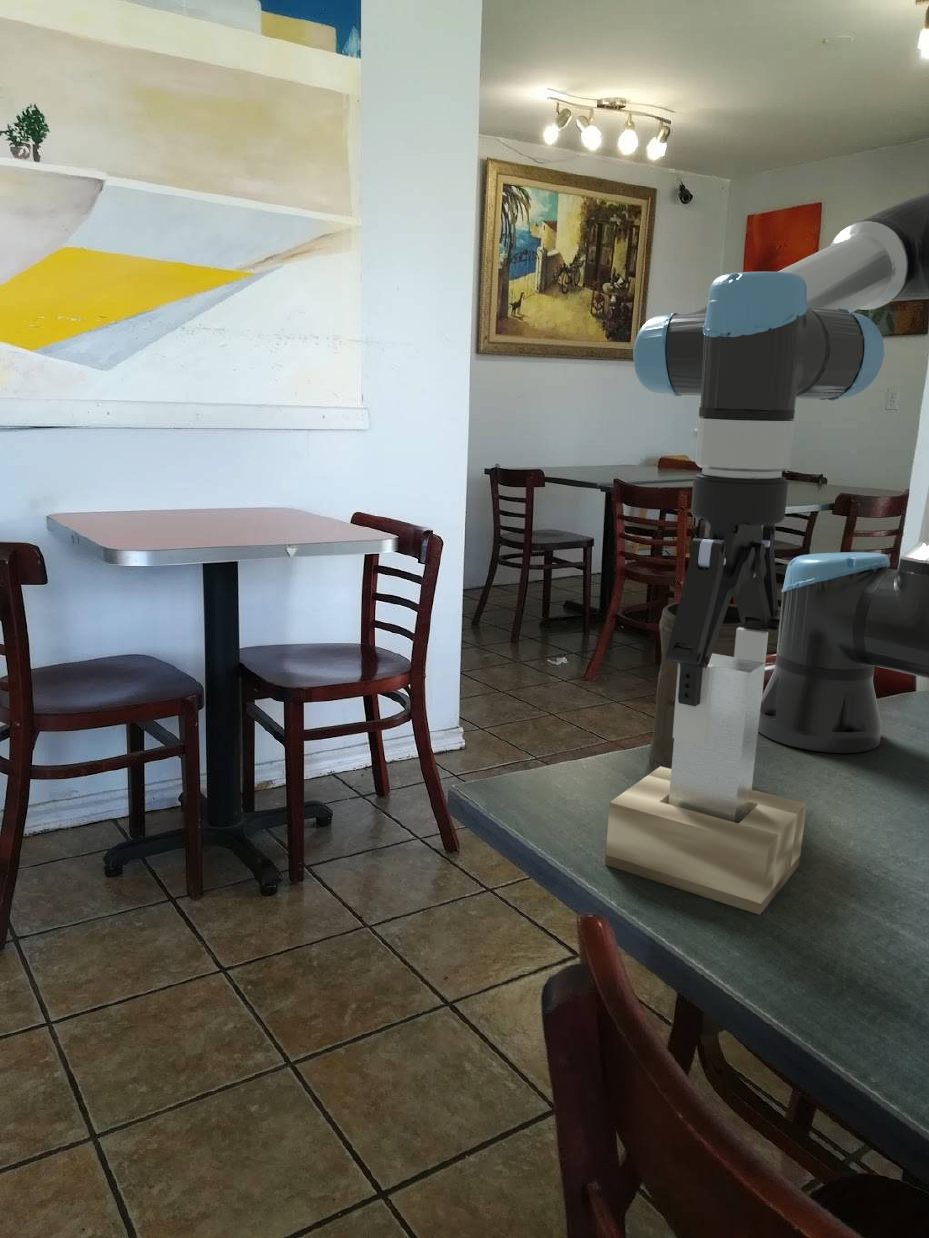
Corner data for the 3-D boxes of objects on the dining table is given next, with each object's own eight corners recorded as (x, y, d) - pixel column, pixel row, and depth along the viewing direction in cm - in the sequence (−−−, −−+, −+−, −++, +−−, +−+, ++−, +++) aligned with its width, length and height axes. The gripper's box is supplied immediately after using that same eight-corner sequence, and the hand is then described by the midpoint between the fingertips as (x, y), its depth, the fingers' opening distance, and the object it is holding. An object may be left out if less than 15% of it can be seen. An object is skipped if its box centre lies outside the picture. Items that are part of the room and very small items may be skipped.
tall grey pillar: (681, 837, 91) (698, 650, 87) (744, 856, 88) (765, 662, 84) (664, 853, 88) (681, 659, 84) (729, 872, 85) (749, 672, 81)
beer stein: (750, 817, 99) (770, 624, 94) (642, 805, 101) (657, 615, 96) (739, 763, 114) (757, 594, 109) (645, 753, 116) (659, 587, 111)
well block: (655, 823, 97) (660, 766, 95) (799, 865, 89) (806, 803, 88) (605, 864, 88) (609, 802, 86) (759, 914, 80) (767, 847, 79)
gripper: (747, 461, 93) (728, 676, 98) (633, 479, 73) (617, 749, 78) (828, 466, 88) (804, 691, 93) (732, 487, 68) (708, 772, 73)
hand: (719, 718), depth 86 cm, fingers open, 13 cm apart
